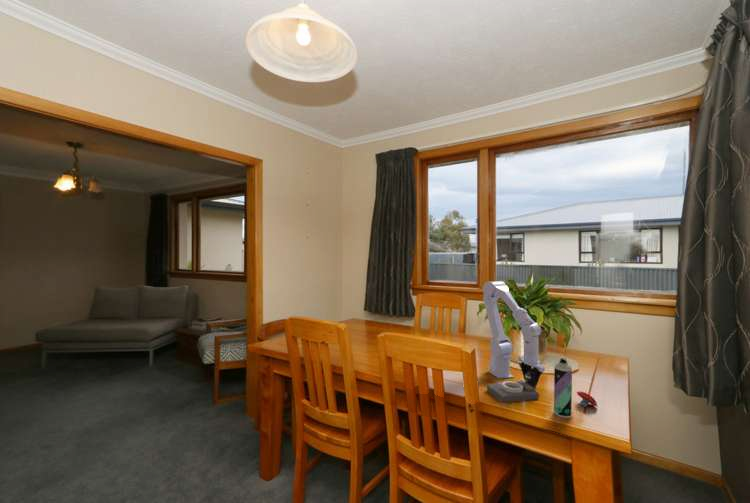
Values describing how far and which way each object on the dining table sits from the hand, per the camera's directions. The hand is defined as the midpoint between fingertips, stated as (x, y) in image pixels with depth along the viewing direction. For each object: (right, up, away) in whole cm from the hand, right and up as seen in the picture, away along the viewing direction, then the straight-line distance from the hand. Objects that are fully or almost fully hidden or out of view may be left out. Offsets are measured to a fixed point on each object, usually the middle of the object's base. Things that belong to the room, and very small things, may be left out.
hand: (530, 382), depth 144 cm
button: (+13, -2, -18) cm, 22 cm away
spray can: (0, -2, -25) cm, 25 cm away
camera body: (-11, -2, -9) cm, 14 cm away
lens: (0, -2, 0) cm, 2 cm away
